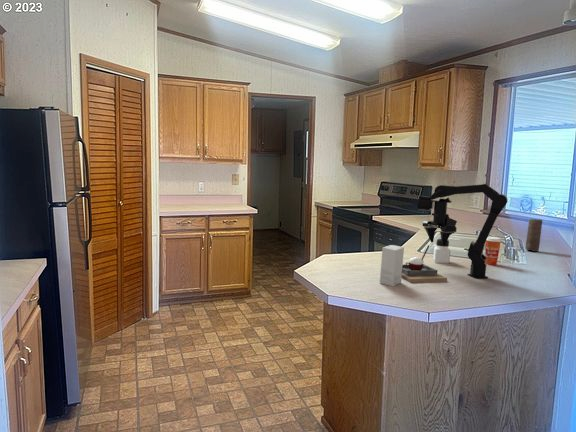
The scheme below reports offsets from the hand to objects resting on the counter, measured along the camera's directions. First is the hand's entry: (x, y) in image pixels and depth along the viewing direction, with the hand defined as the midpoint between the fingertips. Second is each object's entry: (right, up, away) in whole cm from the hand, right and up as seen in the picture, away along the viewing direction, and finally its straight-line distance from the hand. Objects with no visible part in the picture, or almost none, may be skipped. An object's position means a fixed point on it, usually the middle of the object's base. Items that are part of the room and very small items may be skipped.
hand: (437, 244), depth 208 cm
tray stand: (-13, -14, -10) cm, 21 cm away
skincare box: (-28, -15, -25) cm, 40 cm away
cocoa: (-13, -12, -10) cm, 20 cm away
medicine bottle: (+9, -11, +21) cm, 25 cm away
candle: (+79, -9, +61) cm, 100 cm away
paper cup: (+35, -12, +20) cm, 42 cm away
